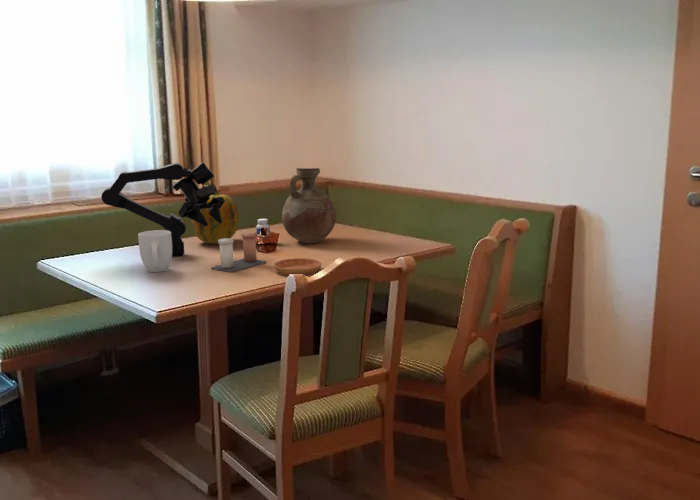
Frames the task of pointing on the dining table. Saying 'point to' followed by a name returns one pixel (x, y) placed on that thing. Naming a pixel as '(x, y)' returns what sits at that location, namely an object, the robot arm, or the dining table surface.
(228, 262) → the white lidded cylinder
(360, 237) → the dining table surface
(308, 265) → the saucer
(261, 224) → the pill bottle
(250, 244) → the pink lidded jar
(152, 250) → the mug
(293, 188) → the jug
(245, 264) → the mat
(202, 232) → the pumpkin
